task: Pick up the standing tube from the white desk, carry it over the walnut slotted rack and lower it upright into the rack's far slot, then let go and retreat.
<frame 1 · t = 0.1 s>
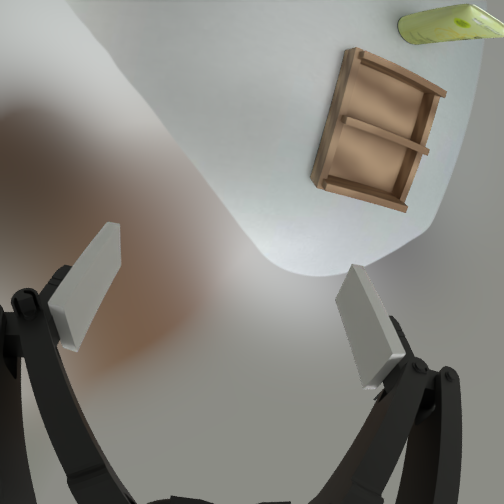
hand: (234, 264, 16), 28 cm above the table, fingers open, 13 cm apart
rack: (372, 128, 38), on the table
tube: (409, 29, 29), on the table
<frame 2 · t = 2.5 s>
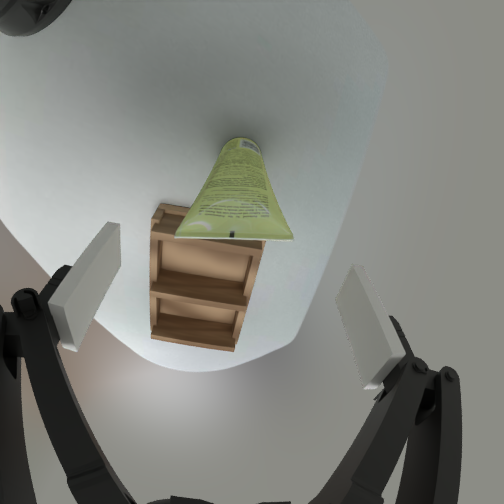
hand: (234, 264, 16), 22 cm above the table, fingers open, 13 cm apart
rack: (202, 272, 44), on the table
tube: (239, 155, 35), on the table
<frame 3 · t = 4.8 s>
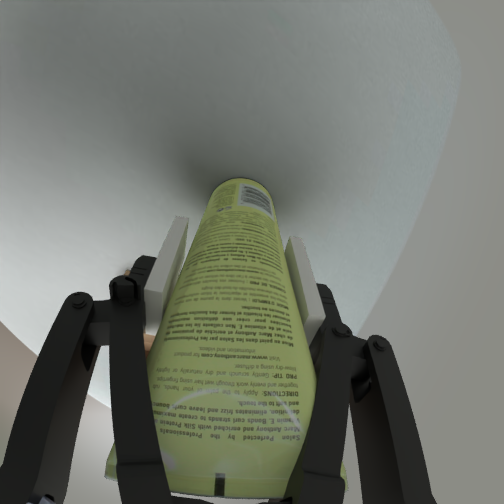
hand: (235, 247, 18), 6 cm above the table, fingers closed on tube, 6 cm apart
tube: (238, 205, 23), on the table, touching gripper
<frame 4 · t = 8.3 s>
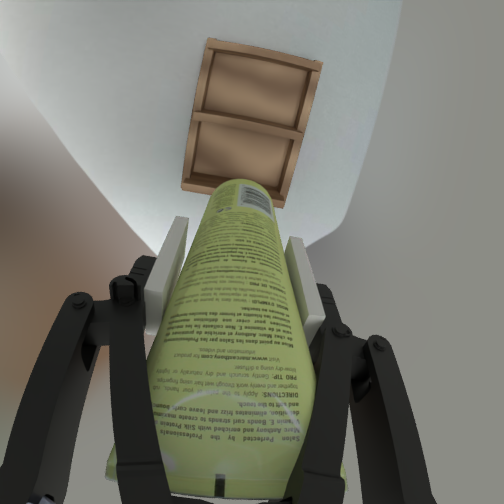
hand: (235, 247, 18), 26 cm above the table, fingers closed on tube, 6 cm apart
rack: (248, 119, 37), on the table
tube: (237, 206, 23), point 20 cm above the table, touching gripper
when the fingers open (9 cm above the table, at t = 12.1 s): tube drops 1 cm, resting on rack.
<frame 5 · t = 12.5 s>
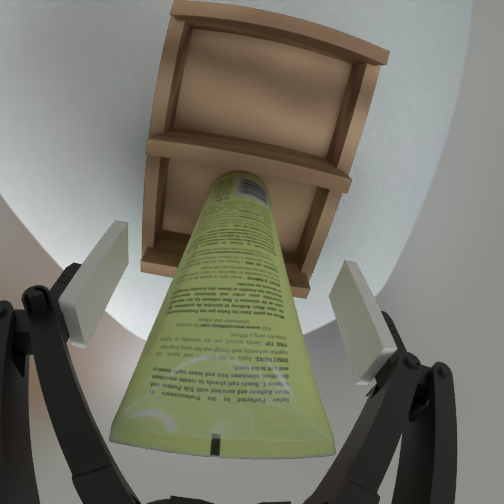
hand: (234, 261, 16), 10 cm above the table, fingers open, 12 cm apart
rack: (249, 142, 23), on the table
tube: (236, 197, 24), point 1 cm above the table, touching rack
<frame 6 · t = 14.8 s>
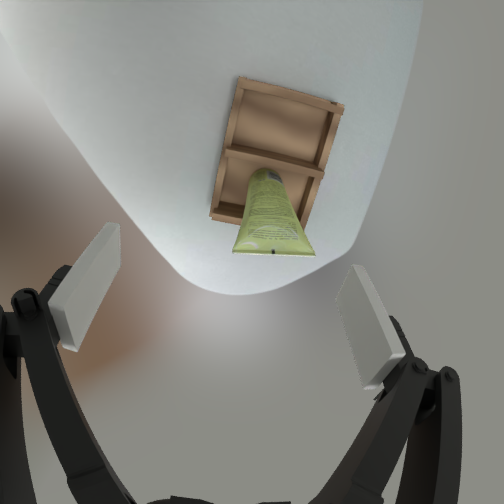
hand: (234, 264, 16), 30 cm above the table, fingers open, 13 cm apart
rack: (271, 153, 42), on the table
tube: (263, 183, 43), point 1 cm above the table, touching rack
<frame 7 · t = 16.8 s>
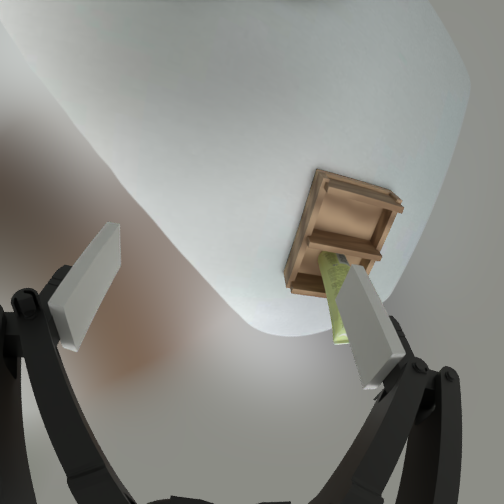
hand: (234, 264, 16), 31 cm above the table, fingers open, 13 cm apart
rack: (336, 232, 50), on the table
tube: (329, 257, 51), point 1 cm above the table, touching rack
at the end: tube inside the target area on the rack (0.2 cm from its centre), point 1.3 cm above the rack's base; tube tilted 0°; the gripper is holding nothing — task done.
